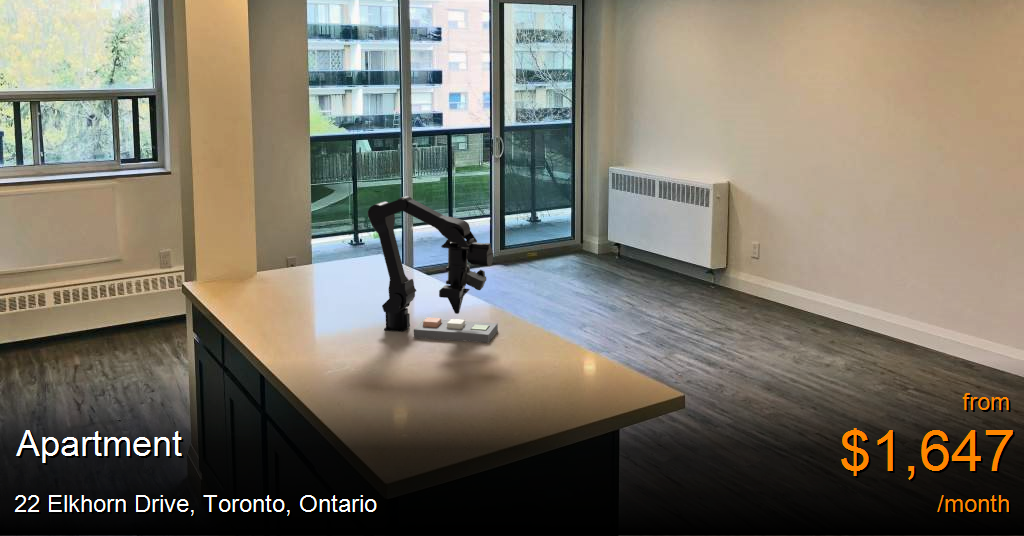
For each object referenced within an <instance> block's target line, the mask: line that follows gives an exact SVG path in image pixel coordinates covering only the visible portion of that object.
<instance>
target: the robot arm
mask: <svg viewBox="0 0 1024 536" xmlns="http://www.w3.org/2000/svg"><path fill="white" fill-rule="evenodd" d="M400 212H403V213H406V214H408V215H410V216H411V217H414V218H415V219H417V220H420V221H421V222H424V223H425V224H427V225H429V226H431V227H432V228H434V229H436V230H437V231H438V232H439V233H440V234H441V236H443V237H444V238H445V239H446V240H445V242H444V243H443V244H442V245H441V246H440V247H441V248H442V249H447V251H448V255H447V258H448V259H447V266H446V267H445V270H446V272H447V280H445V285H444V286H443V287H441V289H439V290H438V296H439V298H443V299H445V298H446V299H447V300H448V301H449V303H450V306H451V307H452V311H453V312H454V314H457V315H458V314H459V313H460V310H461V307H462V303H463V299H464V296H465V295H466V294H467V293H468V292H469V291H470V288H466V285H468V286H470V287H471V288H474V289H475V290H477V291H481V290H483V288H484V286H485V284H486V281H487V275H486V274H485V270H482V269H479V270H478V271H477V272H476V271H472V270H471V266H480V267H491V266H492V265H493V261H494V252H493V247H492V246H491V245H492V243H490V242H485V243H484V242H478V240H477V238H476V237H475V235H474V234H473V233H472V230H471V227H470V223H468V222H467V221H466V220H464V219H460V218H458V217H453V216H446V215H444V214H441V212H439V211H436V210H434V209H432V208H431V207H428V206H427V205H424V203H423V204H422V203H421V202H419V201H416V200H415V199H413V198H412V197H411V196H409V195H405V196H402V197H400V198H398V199H397V200H396V199H395V200H393V201H391V202H388V201H381V202H377V203H375V204H372V205H371V206H370V207H369V209H368V210H367V217H368V220H369V221H370V224H371V226H372V228H373V229H374V230H375V232H376V233H377V234H378V239H379V243H380V245H381V248H382V249H381V250H382V254H383V257H384V262H385V265H386V270H387V273H388V276H389V281H388V299H387V300H386V301H385V302H384V303H383V304H382V306H381V307H382V310H383V312H384V313H385V327H384V328H383V331H388V332H390V331H391V332H402V333H403V332H405V331H407V329H409V328H410V327H411V323H410V322H411V320H410V317H411V316H410V313H409V309H408V307H409V306H410V304H411V302H412V301H414V299H415V297H416V292H417V289H416V288H415V284H414V283H415V282H414V279H413V278H411V279H410V278H408V276H406V274H405V269H404V267H403V261H402V259H401V253H400V250H399V245H398V241H397V237H396V234H395V231H394V229H395V222H396V217H395V214H397V213H400ZM468 263H470V264H468ZM470 265H471V266H470Z"/></svg>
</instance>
